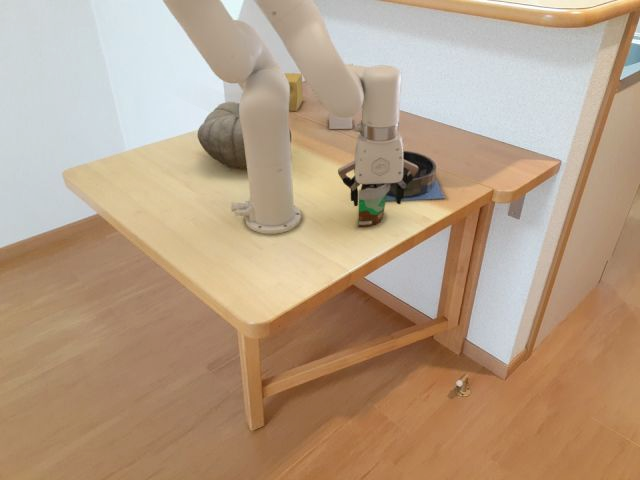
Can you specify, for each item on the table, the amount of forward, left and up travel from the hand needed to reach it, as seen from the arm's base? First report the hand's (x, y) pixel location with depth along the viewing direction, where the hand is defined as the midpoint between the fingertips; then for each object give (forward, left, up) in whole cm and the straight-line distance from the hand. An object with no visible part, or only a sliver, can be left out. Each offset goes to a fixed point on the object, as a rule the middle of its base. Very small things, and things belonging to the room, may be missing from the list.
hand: (376, 202), depth 114 cm
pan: (+9, +16, -4) cm, 19 cm away
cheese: (-20, +74, -4) cm, 77 cm away
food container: (0, 0, -4) cm, 4 cm away
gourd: (-31, +33, -4) cm, 46 cm away
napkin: (+9, +16, -4) cm, 19 cm away
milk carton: (-3, +55, -4) cm, 55 cm away
